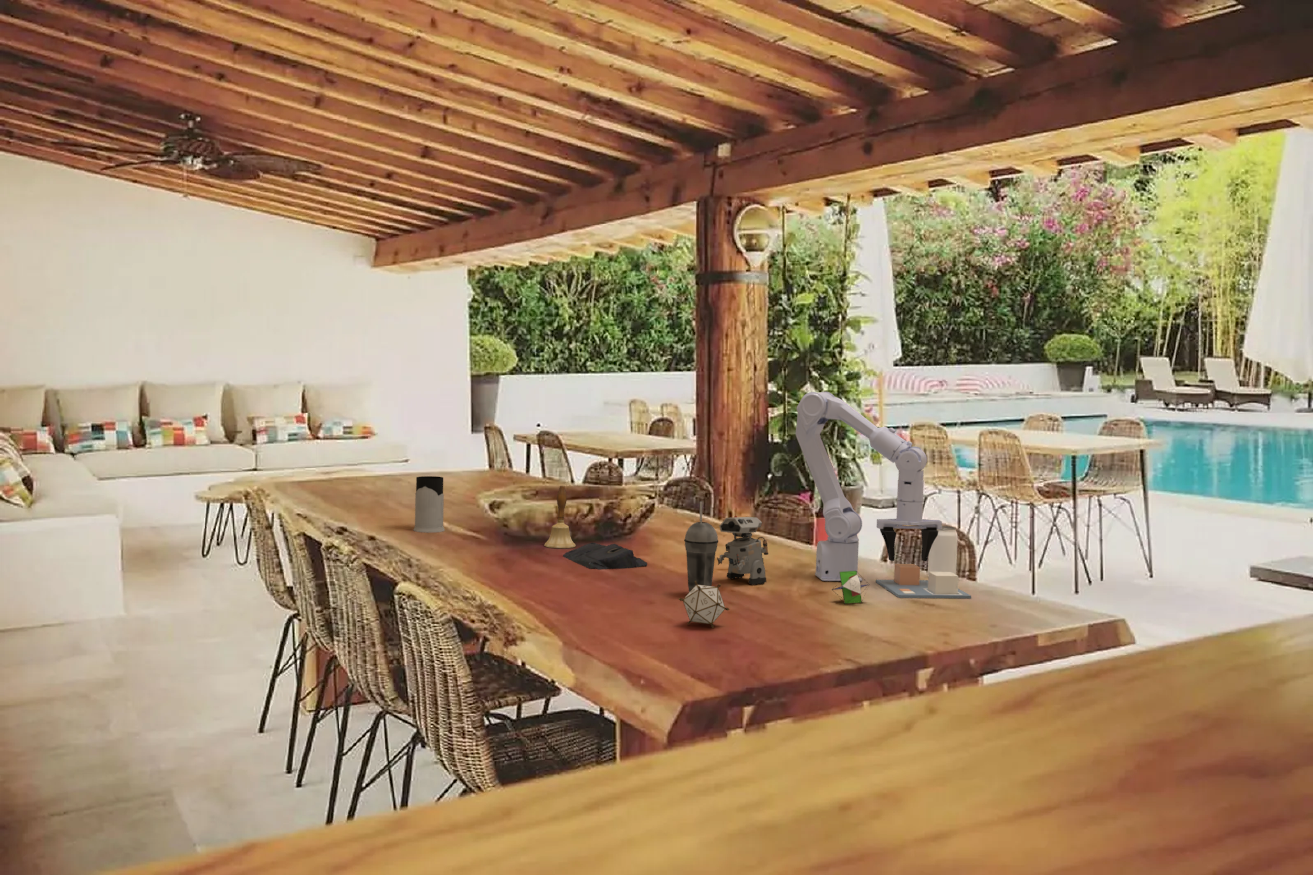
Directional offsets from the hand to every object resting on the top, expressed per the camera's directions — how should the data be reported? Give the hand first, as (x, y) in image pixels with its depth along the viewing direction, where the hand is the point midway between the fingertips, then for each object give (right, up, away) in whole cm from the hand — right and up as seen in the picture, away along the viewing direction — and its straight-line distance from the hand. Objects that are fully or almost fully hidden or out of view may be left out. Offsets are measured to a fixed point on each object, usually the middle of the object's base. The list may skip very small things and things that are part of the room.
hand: (907, 560), depth 266 cm
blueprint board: (+2, -6, -4) cm, 8 cm away
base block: (+6, -6, -9) cm, 12 cm away
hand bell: (-82, -1, +44) cm, 93 cm away
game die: (-48, -8, -46) cm, 67 cm away
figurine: (-38, -5, -1) cm, 39 cm away
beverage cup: (-48, -6, -17) cm, 51 cm away
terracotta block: (0, -5, 0) cm, 5 cm away
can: (+11, -6, +12) cm, 17 cm away
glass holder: (-121, +2, +68) cm, 139 cm away
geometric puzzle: (-16, -7, -20) cm, 27 cm away
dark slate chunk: (-70, -3, +22) cm, 73 cm away
